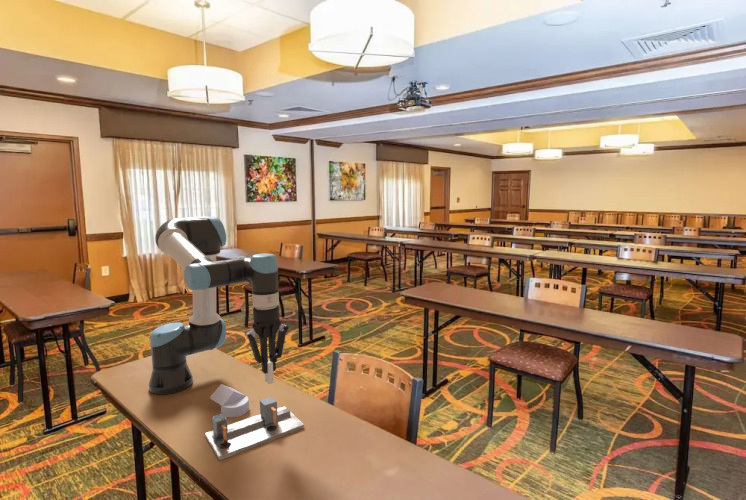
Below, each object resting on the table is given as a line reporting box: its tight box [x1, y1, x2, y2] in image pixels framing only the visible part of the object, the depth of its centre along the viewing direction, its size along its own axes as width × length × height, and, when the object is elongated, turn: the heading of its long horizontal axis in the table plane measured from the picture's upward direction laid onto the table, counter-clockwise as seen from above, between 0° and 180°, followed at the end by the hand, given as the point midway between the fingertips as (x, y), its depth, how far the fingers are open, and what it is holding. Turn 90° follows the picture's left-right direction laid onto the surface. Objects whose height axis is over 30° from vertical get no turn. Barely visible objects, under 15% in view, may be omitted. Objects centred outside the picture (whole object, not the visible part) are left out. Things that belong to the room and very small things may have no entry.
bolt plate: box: [204, 405, 305, 461], centre depth 127 cm, size 14×26×8 cm, turn 127°
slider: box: [259, 396, 278, 426], centre depth 129 cm, size 7×4×6 cm, turn 37°
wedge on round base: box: [209, 383, 250, 418], centre depth 141 cm, size 9×7×13 cm
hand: (269, 381), depth 125 cm, fingers closed
